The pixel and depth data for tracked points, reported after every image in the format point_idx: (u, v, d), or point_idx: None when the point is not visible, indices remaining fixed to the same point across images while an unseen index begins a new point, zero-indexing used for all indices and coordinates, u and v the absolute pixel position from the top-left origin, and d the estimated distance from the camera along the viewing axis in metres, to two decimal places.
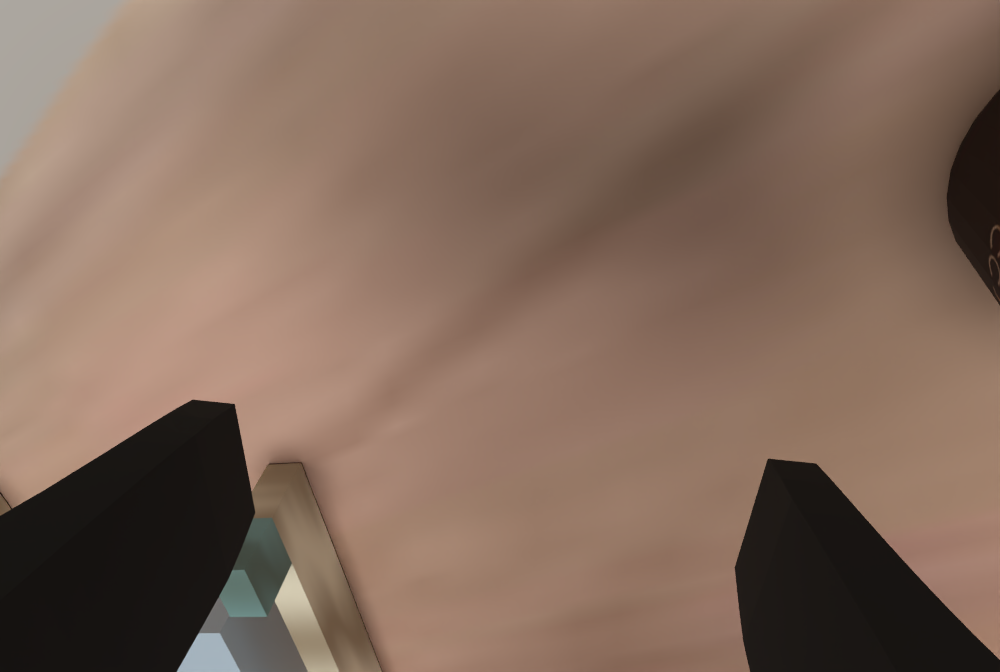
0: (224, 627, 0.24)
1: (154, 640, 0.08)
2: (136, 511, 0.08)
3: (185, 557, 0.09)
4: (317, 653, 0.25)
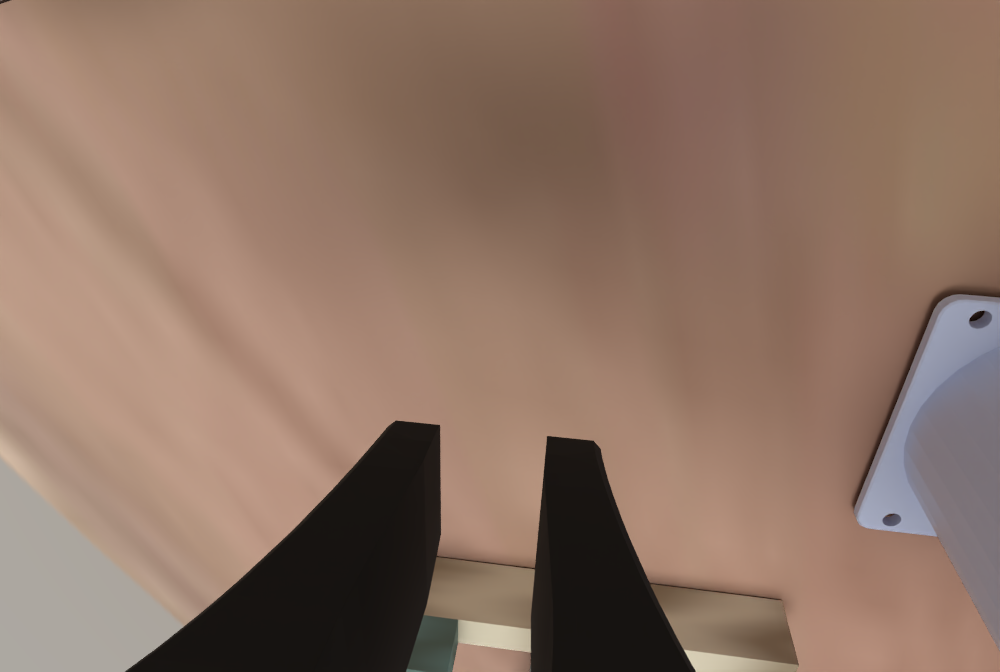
0: None
1: (389, 671, 0.08)
2: (391, 541, 0.07)
3: (409, 584, 0.08)
4: None
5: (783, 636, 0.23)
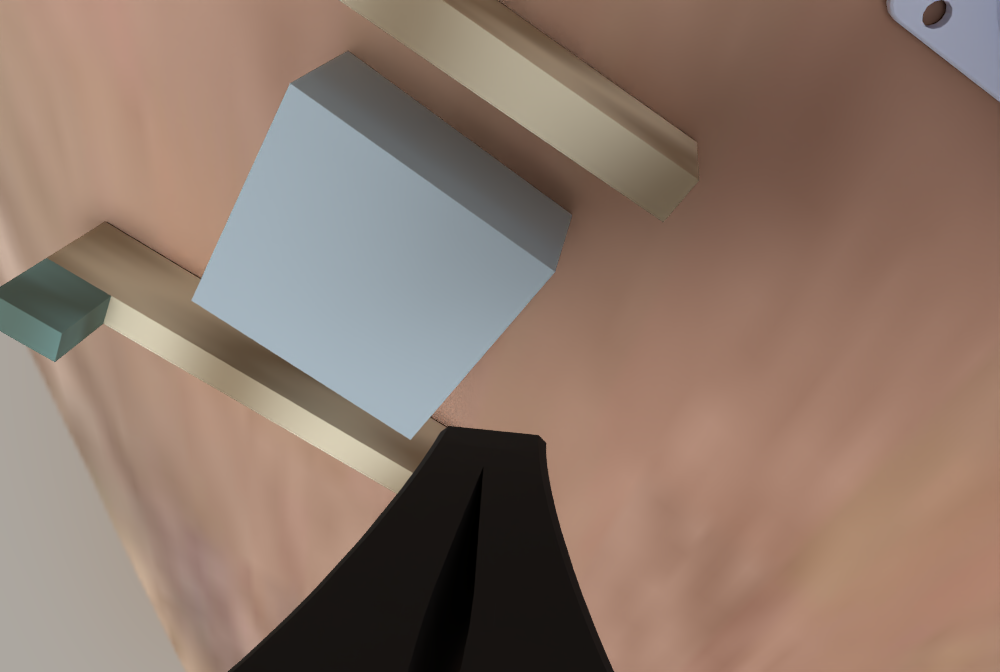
0: (299, 82, 0.15)
1: None
2: (458, 548, 0.07)
3: (468, 591, 0.08)
4: (429, 22, 0.14)
5: (689, 156, 0.16)
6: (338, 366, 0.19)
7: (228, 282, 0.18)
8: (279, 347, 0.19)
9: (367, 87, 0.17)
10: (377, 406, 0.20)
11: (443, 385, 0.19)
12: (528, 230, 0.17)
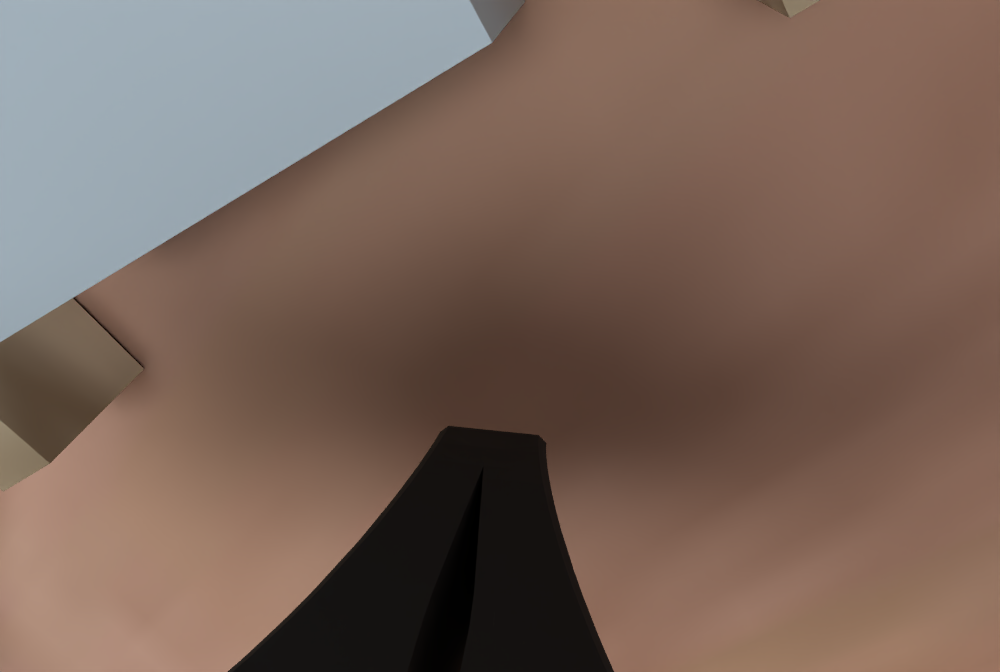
0: None
1: None
2: (458, 548, 0.07)
3: (468, 591, 0.08)
4: None
5: None
6: None
7: None
8: None
9: None
10: None
11: (104, 244, 0.07)
12: None
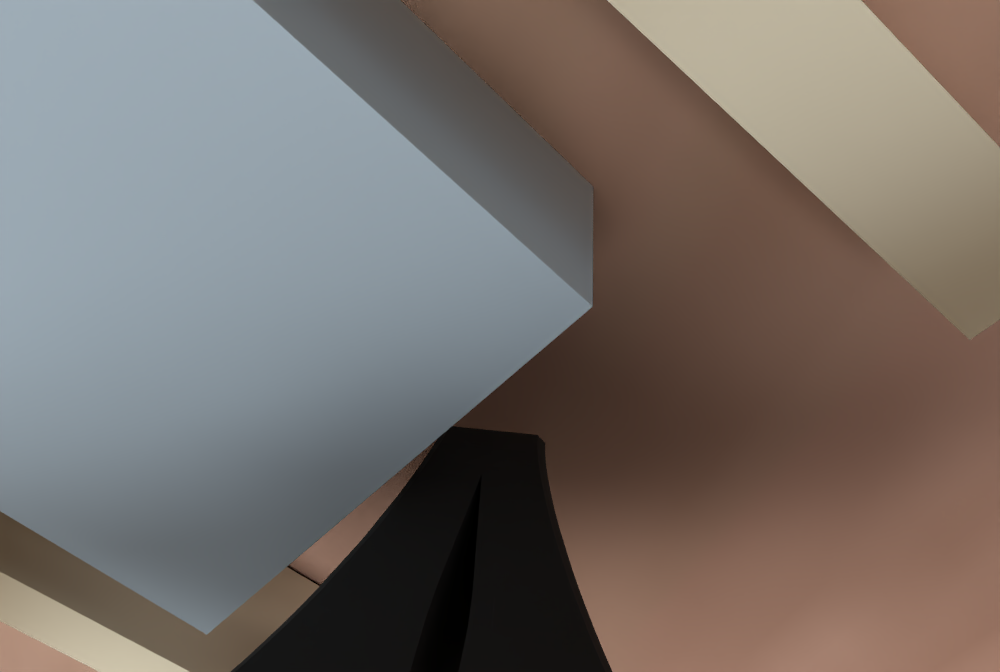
0: None
1: None
2: (460, 549, 0.07)
3: (470, 591, 0.08)
4: None
5: None
6: (35, 479, 0.08)
7: None
8: None
9: None
10: (132, 567, 0.09)
11: (284, 538, 0.08)
12: (524, 196, 0.07)
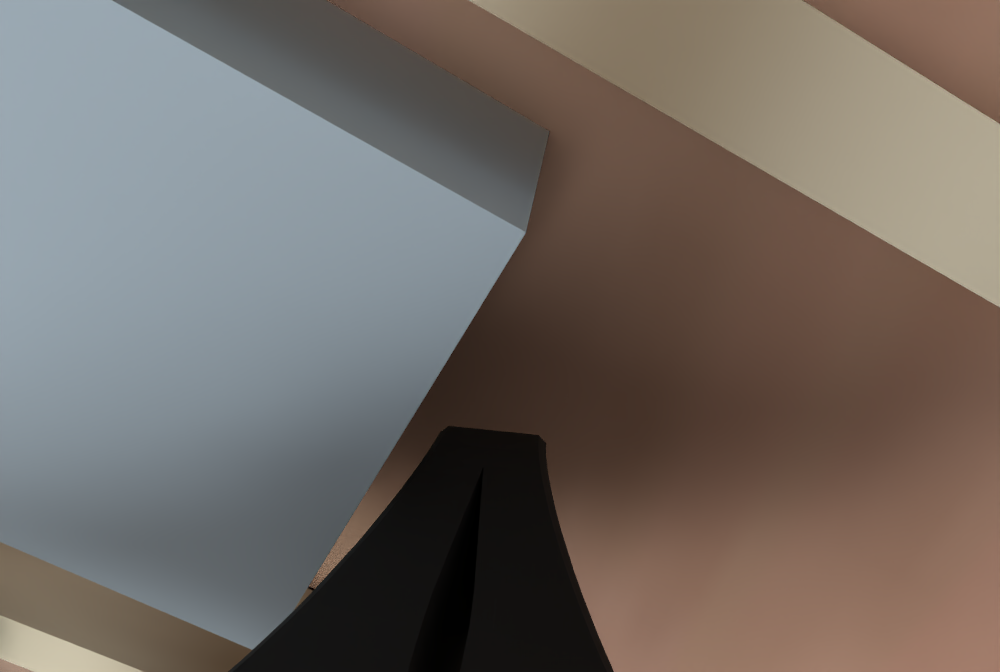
0: None
1: None
2: (458, 548, 0.07)
3: (468, 591, 0.08)
4: (716, 38, 0.06)
5: None
6: (71, 525, 0.09)
7: None
8: None
9: None
10: (179, 598, 0.09)
11: (306, 543, 0.08)
12: (446, 142, 0.07)
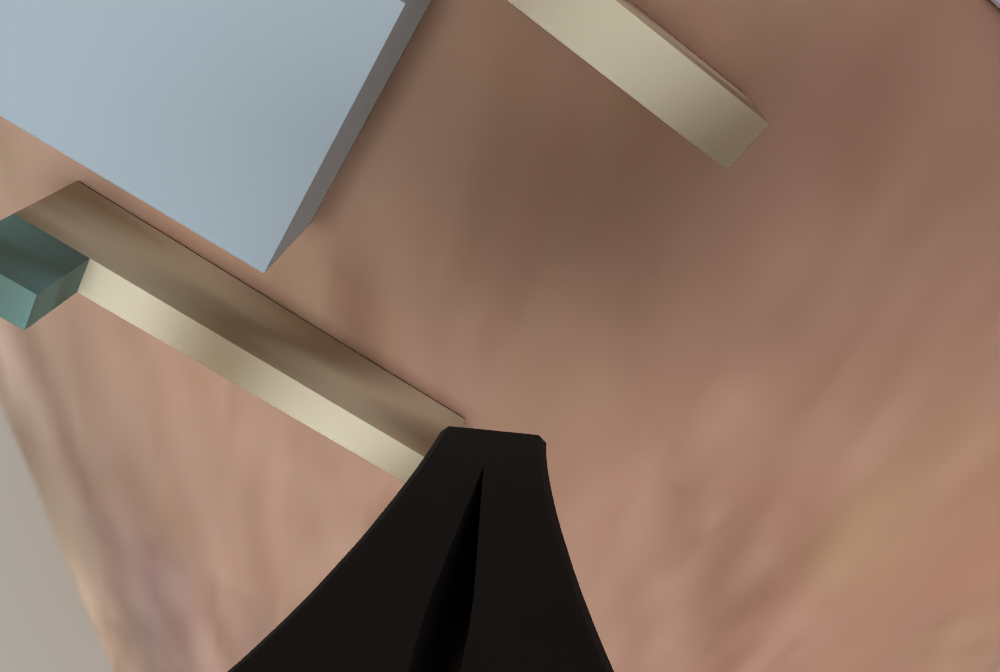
0: None
1: None
2: (458, 548, 0.07)
3: (468, 591, 0.08)
4: None
5: (750, 104, 0.15)
6: (165, 176, 0.16)
7: (16, 67, 0.15)
8: (90, 157, 0.16)
9: None
10: (219, 229, 0.16)
11: (293, 188, 0.16)
12: None
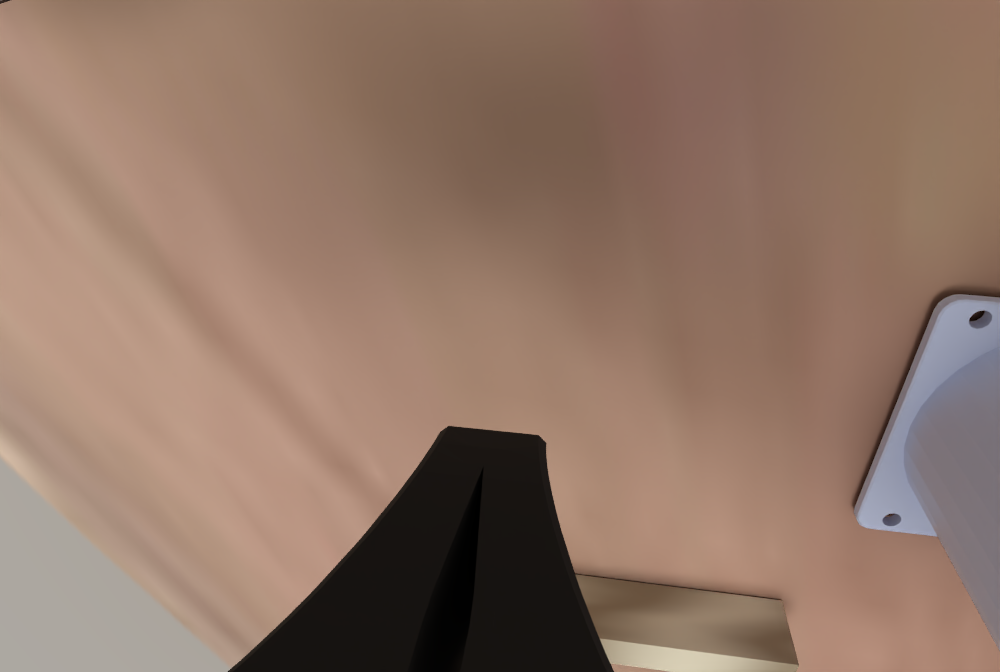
0: None
1: None
2: (458, 548, 0.07)
3: (468, 591, 0.08)
4: None
5: (783, 636, 0.23)
6: None
7: None
8: None
9: None
10: None
11: None
12: None
